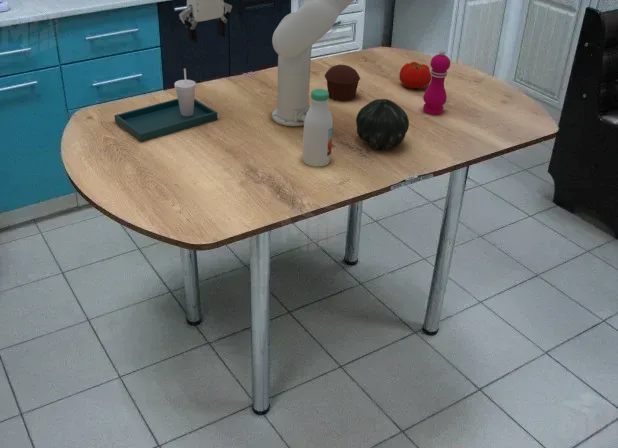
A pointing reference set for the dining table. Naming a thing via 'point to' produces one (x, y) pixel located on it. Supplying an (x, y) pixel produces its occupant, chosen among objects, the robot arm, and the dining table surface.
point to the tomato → (415, 75)
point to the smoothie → (185, 95)
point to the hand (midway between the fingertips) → (207, 38)
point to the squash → (382, 124)
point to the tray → (163, 119)
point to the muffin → (342, 82)
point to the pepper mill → (436, 85)
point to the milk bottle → (318, 130)
